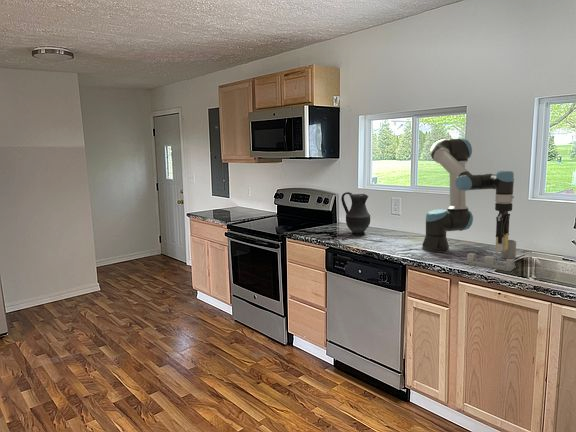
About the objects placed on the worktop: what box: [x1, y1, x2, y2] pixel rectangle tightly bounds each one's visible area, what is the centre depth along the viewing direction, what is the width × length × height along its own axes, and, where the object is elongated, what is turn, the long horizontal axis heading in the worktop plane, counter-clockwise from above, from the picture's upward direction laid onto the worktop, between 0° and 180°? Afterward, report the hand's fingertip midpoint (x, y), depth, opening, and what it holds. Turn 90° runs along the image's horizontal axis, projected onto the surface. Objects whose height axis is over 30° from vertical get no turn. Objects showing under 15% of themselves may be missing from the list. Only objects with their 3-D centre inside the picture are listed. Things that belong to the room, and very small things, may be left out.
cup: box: [500, 239, 517, 260], centre depth 228 cm, size 7×10×9 cm
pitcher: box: [340, 191, 371, 237], centre depth 296 cm, size 17×21×30 cm
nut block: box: [495, 232, 510, 251], centre depth 210 cm, size 4×4×8 cm
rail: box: [464, 252, 517, 272], centre depth 216 cm, size 22×9×5 cm, turn 47°
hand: (501, 248), depth 211 cm, fingers closed on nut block, 4 cm apart
